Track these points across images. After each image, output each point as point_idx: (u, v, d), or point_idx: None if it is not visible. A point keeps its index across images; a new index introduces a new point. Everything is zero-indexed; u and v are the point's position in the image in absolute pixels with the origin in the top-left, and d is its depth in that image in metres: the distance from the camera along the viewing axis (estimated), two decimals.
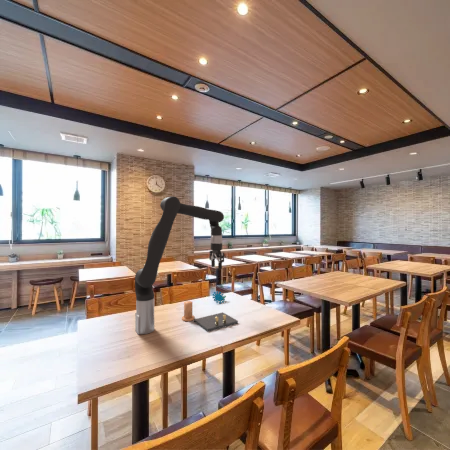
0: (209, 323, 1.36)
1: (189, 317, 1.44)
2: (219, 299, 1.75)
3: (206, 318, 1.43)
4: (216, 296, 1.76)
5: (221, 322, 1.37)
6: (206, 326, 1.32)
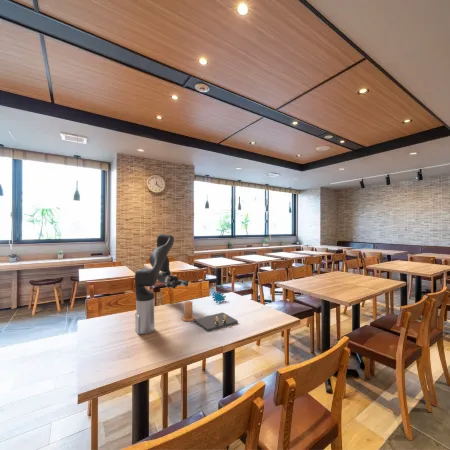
0: (209, 323, 1.36)
1: (189, 317, 1.44)
2: (219, 299, 1.75)
3: (206, 318, 1.43)
4: (216, 296, 1.76)
5: (221, 322, 1.37)
6: (206, 326, 1.32)
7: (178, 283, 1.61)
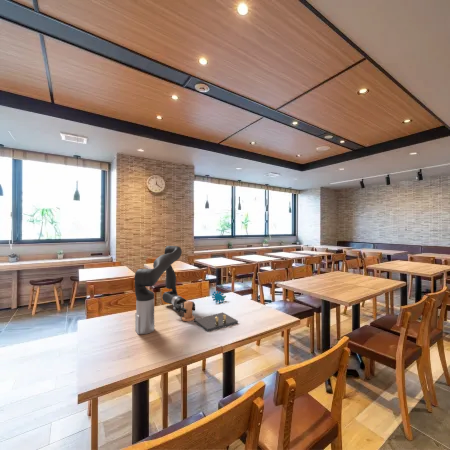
0: (209, 323, 1.36)
1: (189, 317, 1.44)
2: (219, 299, 1.76)
3: (206, 318, 1.43)
4: (216, 296, 1.77)
5: (221, 322, 1.37)
6: (206, 326, 1.32)
7: None
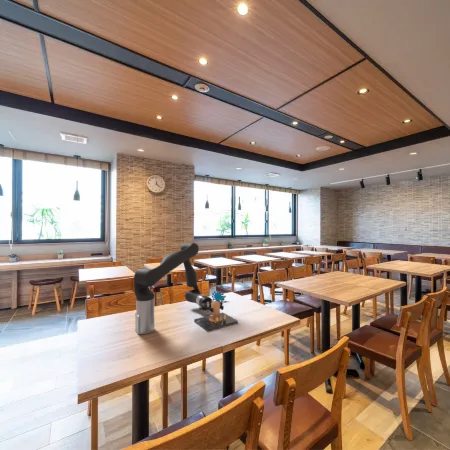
0: (209, 323, 1.36)
1: None
2: (218, 298, 1.76)
3: (206, 318, 1.43)
4: (215, 295, 1.78)
5: (221, 322, 1.37)
6: (206, 326, 1.32)
7: None
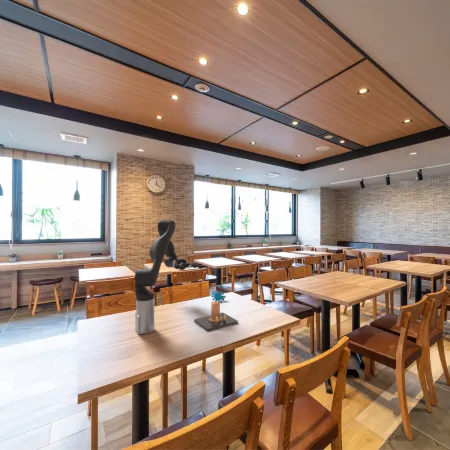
0: (209, 323, 1.36)
1: None
2: (218, 298, 1.77)
3: (206, 318, 1.43)
4: (215, 295, 1.78)
5: (221, 322, 1.37)
6: (206, 326, 1.32)
7: (186, 265, 1.59)
